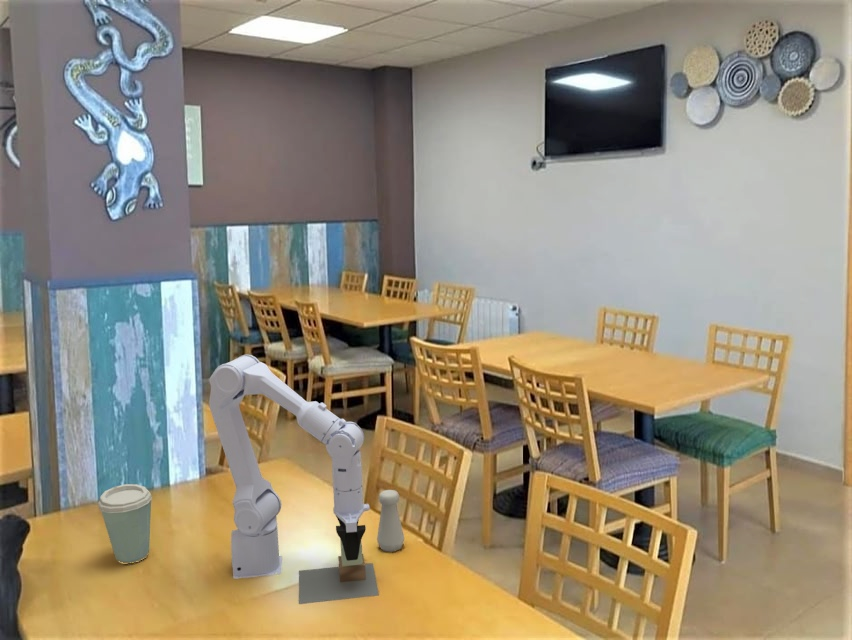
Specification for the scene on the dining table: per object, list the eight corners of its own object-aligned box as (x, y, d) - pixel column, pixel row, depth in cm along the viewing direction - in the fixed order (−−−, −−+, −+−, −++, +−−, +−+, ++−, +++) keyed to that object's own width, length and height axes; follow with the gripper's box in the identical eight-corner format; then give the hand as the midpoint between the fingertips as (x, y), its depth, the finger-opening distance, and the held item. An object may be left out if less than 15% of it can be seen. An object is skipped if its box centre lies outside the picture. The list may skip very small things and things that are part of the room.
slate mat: (298, 606, 144) (298, 603, 144) (299, 573, 156) (298, 570, 156) (379, 598, 146) (379, 595, 146) (372, 565, 159) (372, 563, 159)
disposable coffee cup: (166, 556, 165) (160, 490, 163) (118, 575, 158) (111, 506, 155) (142, 542, 173) (136, 478, 170) (95, 560, 165) (88, 493, 162)
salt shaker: (401, 556, 162) (398, 498, 160) (374, 554, 163) (372, 496, 161) (407, 544, 168) (405, 487, 166) (381, 542, 169) (379, 486, 167)
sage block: (342, 566, 151) (341, 547, 151) (341, 557, 155) (340, 538, 154) (362, 564, 152) (361, 545, 151) (361, 555, 156) (360, 536, 155)
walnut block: (340, 582, 151) (339, 567, 151) (338, 570, 156) (338, 556, 156) (365, 579, 152) (365, 565, 151) (363, 567, 157) (363, 553, 156)
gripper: (371, 498, 144) (374, 566, 147) (365, 471, 159) (368, 533, 161) (333, 501, 143) (337, 570, 146) (330, 474, 158) (334, 536, 160)
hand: (351, 551), depth 153 cm, fingers open, 6 cm apart
